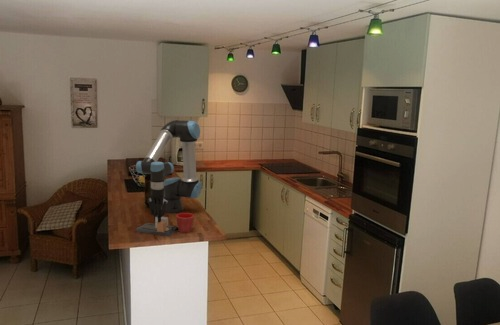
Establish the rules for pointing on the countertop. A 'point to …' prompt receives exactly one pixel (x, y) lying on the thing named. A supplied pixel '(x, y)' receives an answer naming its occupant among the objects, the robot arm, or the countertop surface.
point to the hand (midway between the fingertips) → (157, 227)
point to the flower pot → (185, 222)
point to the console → (152, 230)
